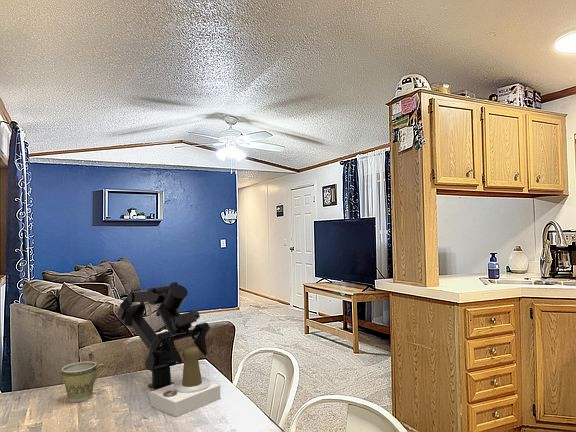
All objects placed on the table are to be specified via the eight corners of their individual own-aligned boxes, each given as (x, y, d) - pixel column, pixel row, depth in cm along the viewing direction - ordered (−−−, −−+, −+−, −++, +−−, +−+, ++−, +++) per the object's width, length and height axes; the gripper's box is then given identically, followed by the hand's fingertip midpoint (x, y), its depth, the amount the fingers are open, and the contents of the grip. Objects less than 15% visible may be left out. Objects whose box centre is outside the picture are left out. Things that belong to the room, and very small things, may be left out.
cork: (197, 387, 131) (195, 350, 131) (178, 386, 132) (177, 350, 132) (205, 379, 137) (203, 344, 137) (186, 379, 138) (185, 344, 138)
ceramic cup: (67, 407, 131) (66, 374, 132) (58, 398, 139) (57, 366, 139) (111, 395, 140) (110, 363, 140) (101, 387, 148) (100, 357, 148)
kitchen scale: (150, 405, 131) (150, 389, 131) (194, 388, 143) (194, 374, 143) (175, 417, 122) (175, 399, 122) (220, 398, 134) (219, 382, 134)
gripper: (155, 307, 130) (178, 350, 123) (205, 297, 144) (229, 336, 137) (142, 330, 135) (163, 373, 128) (192, 318, 149) (214, 356, 142)
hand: (194, 358), depth 133 cm, fingers open, 9 cm apart
